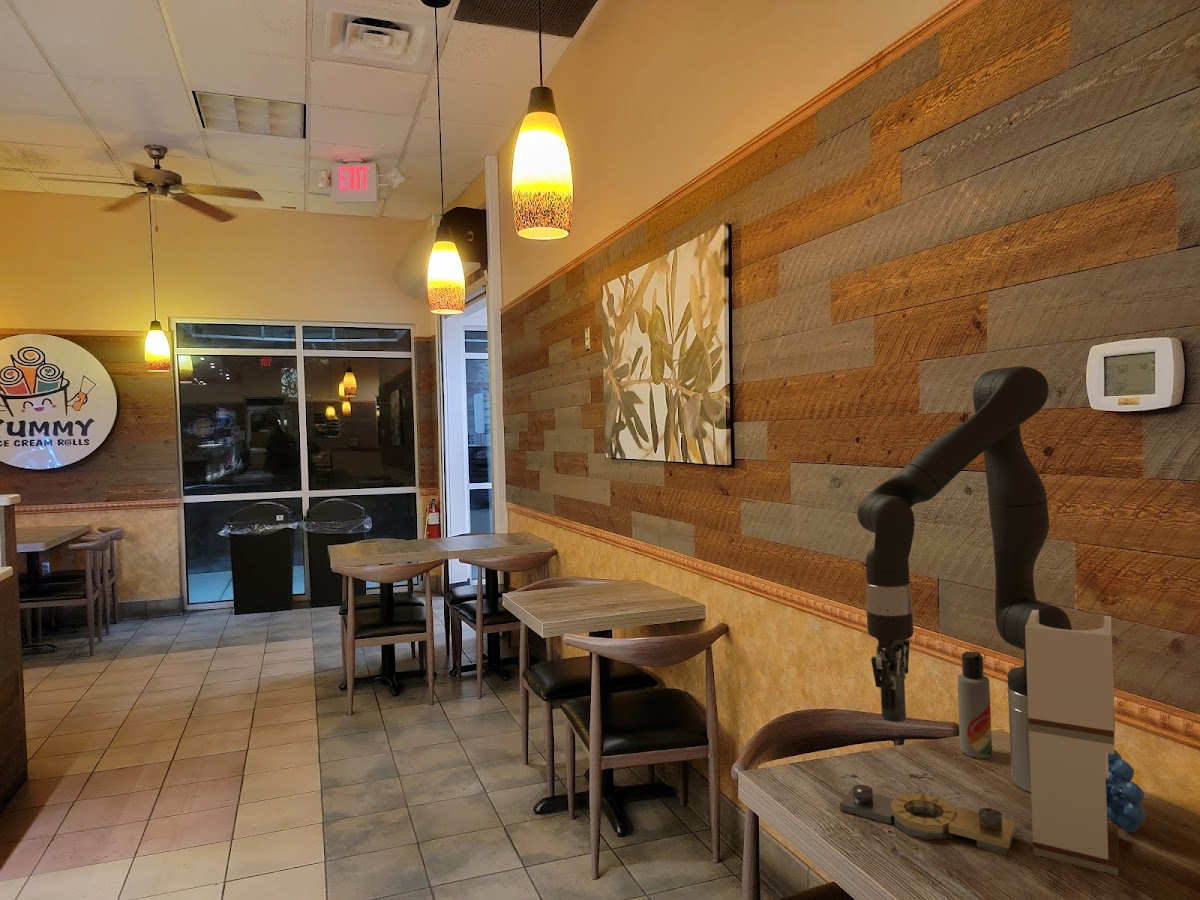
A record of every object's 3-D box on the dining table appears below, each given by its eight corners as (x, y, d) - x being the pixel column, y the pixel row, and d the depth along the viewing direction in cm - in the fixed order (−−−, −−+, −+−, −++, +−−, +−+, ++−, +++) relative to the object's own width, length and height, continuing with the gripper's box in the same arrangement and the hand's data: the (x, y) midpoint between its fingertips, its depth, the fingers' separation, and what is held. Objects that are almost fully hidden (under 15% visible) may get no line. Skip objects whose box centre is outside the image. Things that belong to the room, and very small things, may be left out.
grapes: (1068, 806, 127) (1066, 736, 126) (1109, 804, 126) (1107, 735, 126) (1113, 844, 115) (1111, 768, 115) (1158, 843, 115) (1156, 766, 114)
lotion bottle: (996, 759, 145) (992, 657, 144) (964, 758, 146) (960, 657, 145) (987, 746, 150) (983, 648, 150) (956, 746, 151) (952, 648, 151)
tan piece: (855, 790, 136) (854, 766, 135) (1017, 831, 120) (1016, 804, 120) (836, 815, 128) (835, 790, 127) (1007, 862, 112) (1006, 833, 112)
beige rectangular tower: (1118, 875, 107) (1110, 635, 106) (1033, 854, 113) (1025, 627, 112) (1118, 837, 117) (1111, 616, 116) (1040, 820, 123) (1032, 609, 122)
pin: (885, 711, 134) (883, 661, 134) (909, 715, 131) (906, 665, 131) (878, 719, 131) (876, 668, 130) (902, 723, 128) (899, 671, 128)
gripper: (898, 620, 122) (903, 723, 123) (923, 601, 134) (927, 696, 134) (853, 615, 127) (858, 714, 128) (880, 597, 138) (884, 688, 139)
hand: (893, 704), depth 131 cm, fingers closed on pin, 4 cm apart
